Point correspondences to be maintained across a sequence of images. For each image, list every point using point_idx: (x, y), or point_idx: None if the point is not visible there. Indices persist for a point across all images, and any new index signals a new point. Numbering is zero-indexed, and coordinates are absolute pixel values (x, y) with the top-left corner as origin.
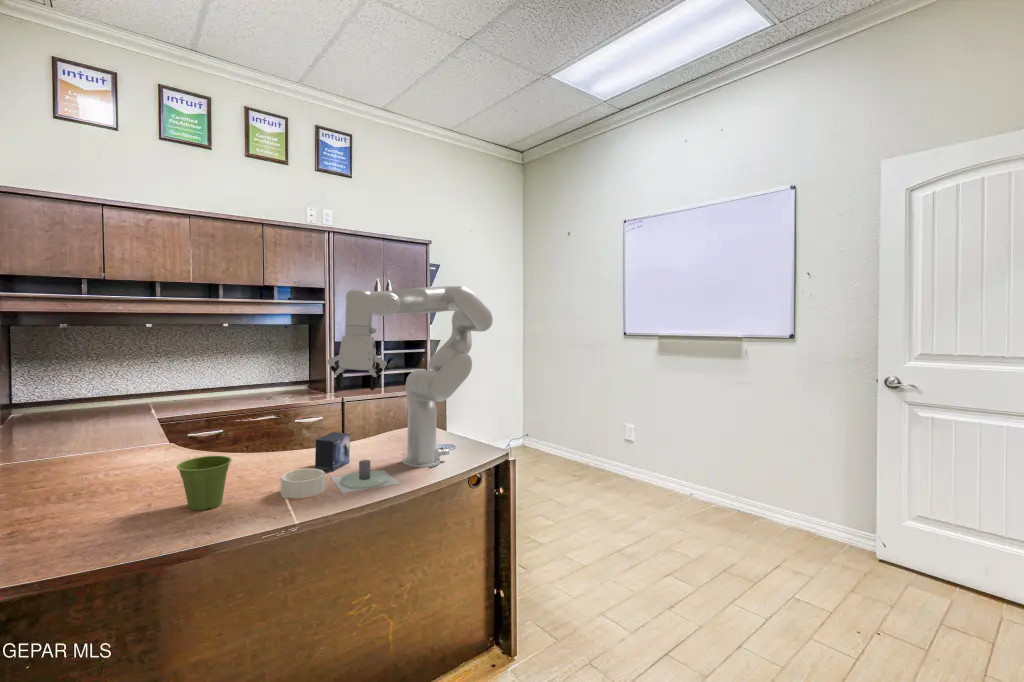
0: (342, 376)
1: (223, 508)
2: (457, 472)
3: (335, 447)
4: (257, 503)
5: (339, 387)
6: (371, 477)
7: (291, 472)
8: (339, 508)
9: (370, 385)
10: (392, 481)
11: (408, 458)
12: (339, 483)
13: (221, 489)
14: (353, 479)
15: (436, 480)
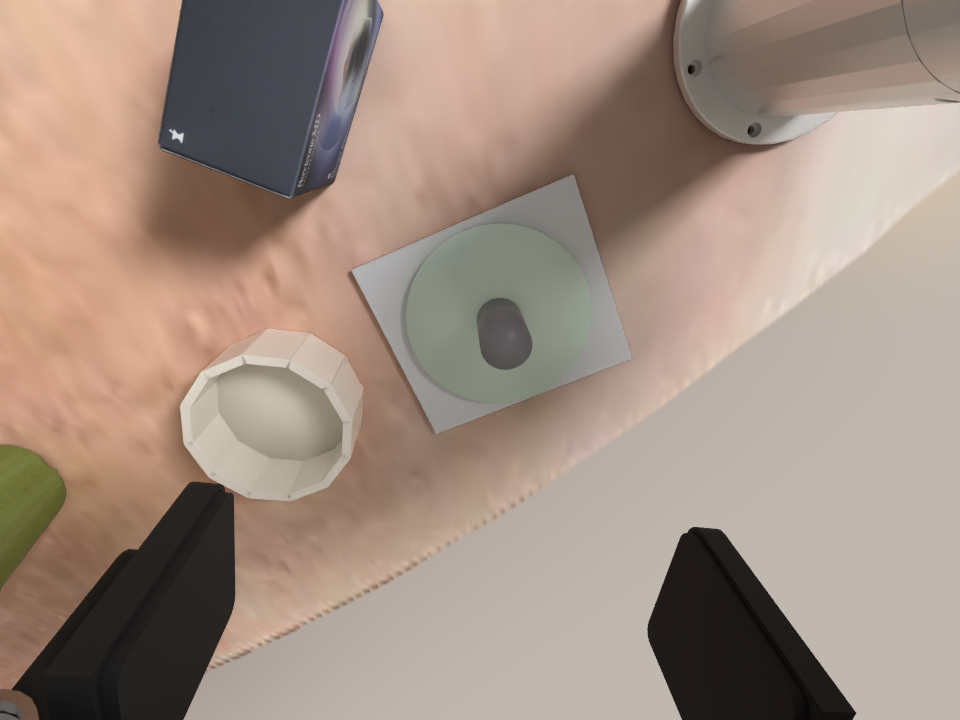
0: (137, 692)
1: (94, 504)
2: (899, 214)
3: (313, 169)
4: (178, 475)
5: (223, 618)
6: (527, 315)
7: (201, 389)
8: (446, 523)
9: (671, 686)
10: (609, 334)
11: (717, 64)
12: (403, 341)
13: (35, 526)
14: (456, 333)
15: (781, 309)
